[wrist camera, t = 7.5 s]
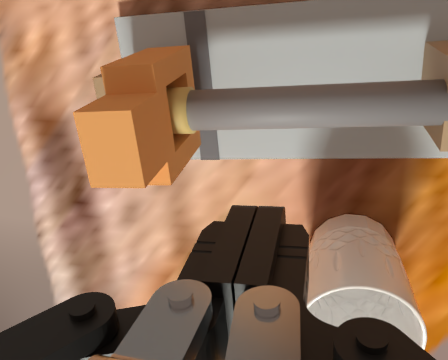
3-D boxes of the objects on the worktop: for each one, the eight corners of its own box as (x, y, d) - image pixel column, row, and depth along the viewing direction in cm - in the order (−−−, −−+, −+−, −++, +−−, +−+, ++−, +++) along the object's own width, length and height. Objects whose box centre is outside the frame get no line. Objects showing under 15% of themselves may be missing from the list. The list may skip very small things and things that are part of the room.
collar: (189, 45, 29) (124, 77, 19) (201, 144, 31) (149, 214, 22) (147, 47, 29) (65, 80, 20) (162, 144, 32) (97, 212, 23)
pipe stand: (479, -15, 26) (535, -12, 19) (455, 152, 31) (494, 204, 24) (119, 16, 32) (61, 27, 25) (144, 155, 36) (101, 198, 29)
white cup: (319, 194, 35) (317, 269, 26) (417, 223, 34) (450, 310, 25) (291, 270, 38) (282, 358, 29) (379, 297, 37) (396, 396, 29)
